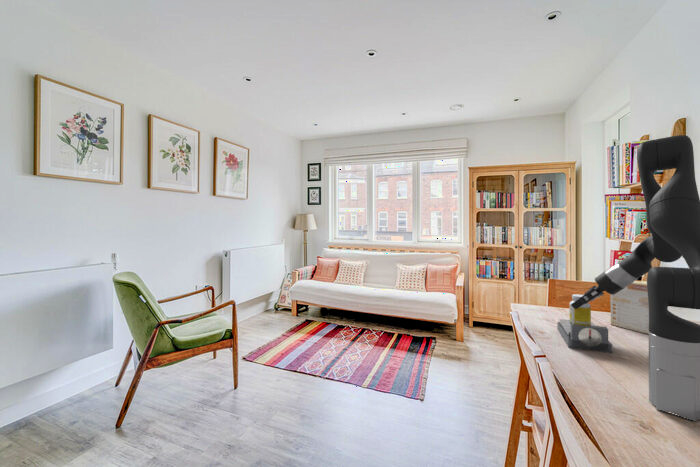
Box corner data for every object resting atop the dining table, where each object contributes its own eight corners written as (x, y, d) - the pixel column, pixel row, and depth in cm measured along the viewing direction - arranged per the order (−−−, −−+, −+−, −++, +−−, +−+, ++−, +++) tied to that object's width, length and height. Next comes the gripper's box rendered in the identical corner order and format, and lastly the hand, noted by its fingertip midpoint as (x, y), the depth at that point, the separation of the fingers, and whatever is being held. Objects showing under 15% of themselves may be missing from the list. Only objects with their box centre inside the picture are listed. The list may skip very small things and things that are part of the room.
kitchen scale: (612, 353, 99) (612, 330, 98) (568, 348, 104) (568, 325, 104) (593, 333, 117) (593, 313, 117) (557, 329, 122) (557, 310, 122)
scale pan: (606, 339, 102) (606, 336, 102) (568, 335, 107) (568, 332, 107) (592, 325, 117) (592, 322, 117) (559, 321, 122) (559, 319, 122)
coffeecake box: (666, 333, 115) (666, 283, 114) (656, 336, 112) (656, 285, 112) (619, 322, 129) (619, 277, 128) (609, 324, 126) (609, 279, 125)
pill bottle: (594, 328, 110) (594, 297, 110) (575, 328, 111) (574, 297, 111) (584, 323, 116) (584, 293, 116) (566, 322, 117) (565, 293, 117)
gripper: (609, 268, 112) (572, 293, 121) (601, 273, 103) (562, 300, 112) (628, 284, 108) (589, 309, 117) (622, 290, 99) (580, 317, 108)
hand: (576, 304), depth 114 cm, fingers open, 8 cm apart
